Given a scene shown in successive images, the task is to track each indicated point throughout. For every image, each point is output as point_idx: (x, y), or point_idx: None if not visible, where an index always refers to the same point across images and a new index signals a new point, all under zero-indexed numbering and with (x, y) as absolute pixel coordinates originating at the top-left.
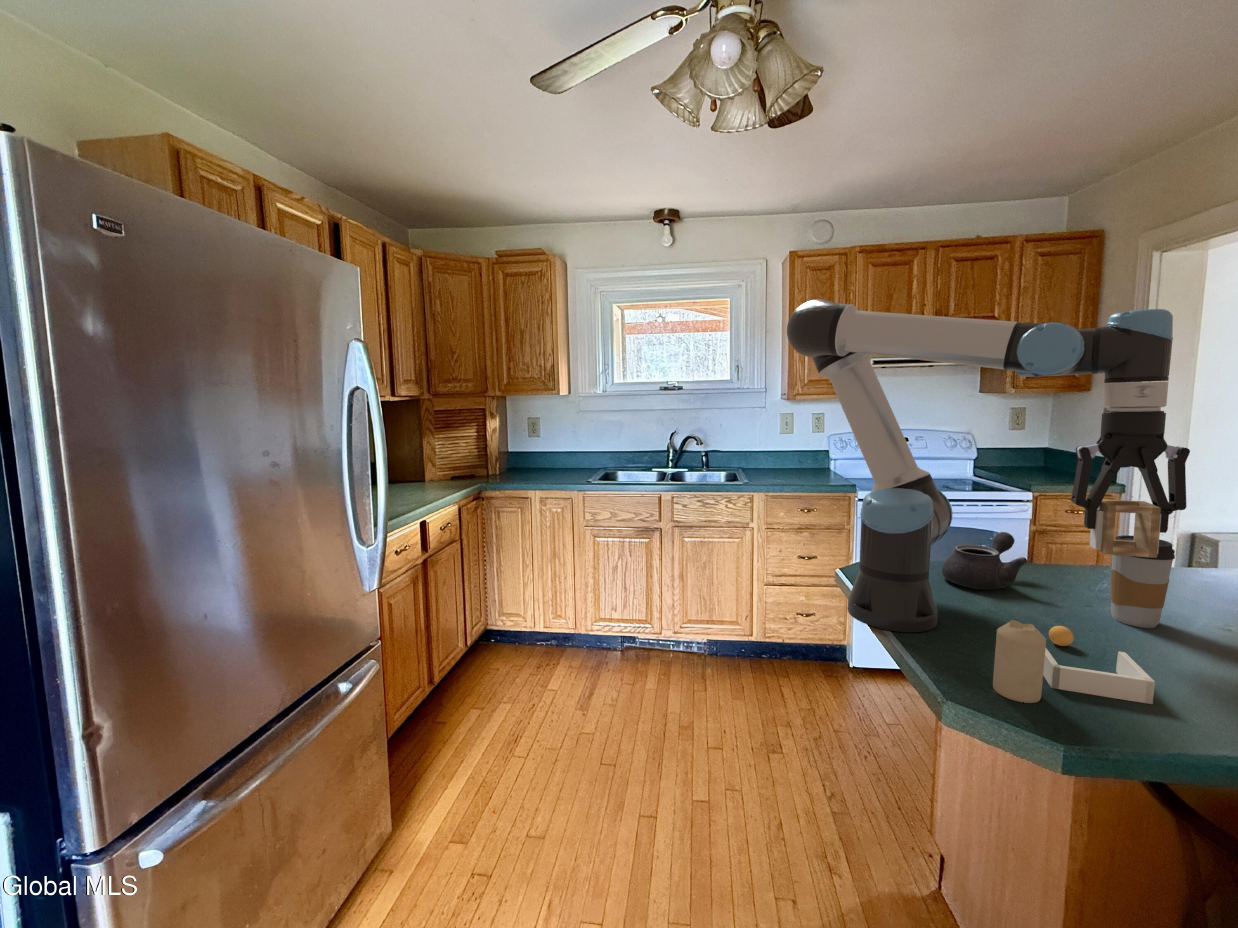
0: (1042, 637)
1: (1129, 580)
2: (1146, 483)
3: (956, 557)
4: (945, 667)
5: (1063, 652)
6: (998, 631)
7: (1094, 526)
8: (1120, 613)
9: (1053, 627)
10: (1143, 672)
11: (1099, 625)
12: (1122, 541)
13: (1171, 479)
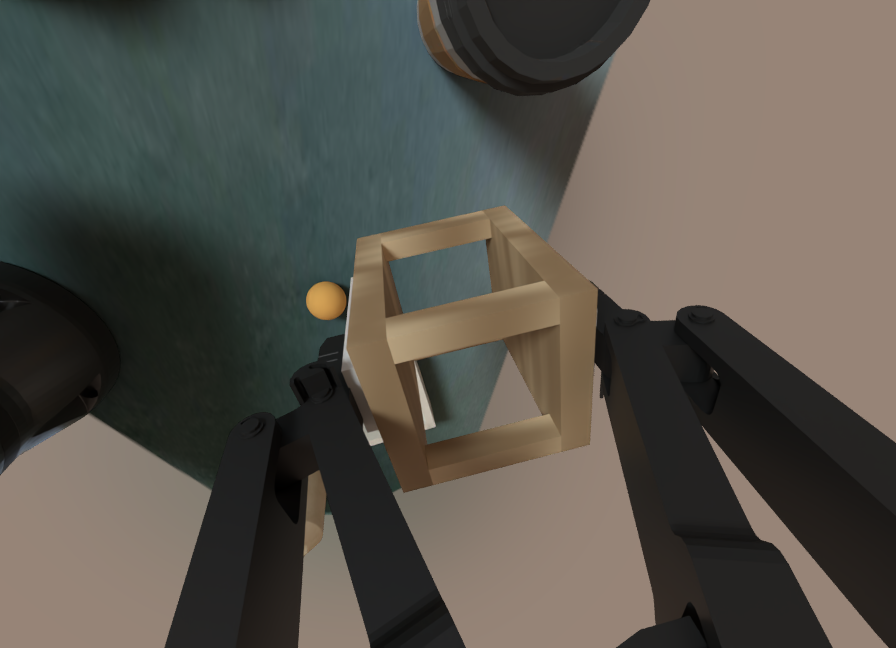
0: (318, 539)
1: (465, 74)
2: (640, 458)
3: None
4: (213, 460)
5: (336, 320)
6: None
7: None
8: (434, 57)
9: (311, 308)
10: (427, 410)
11: (388, 118)
12: (452, 245)
13: (790, 475)
